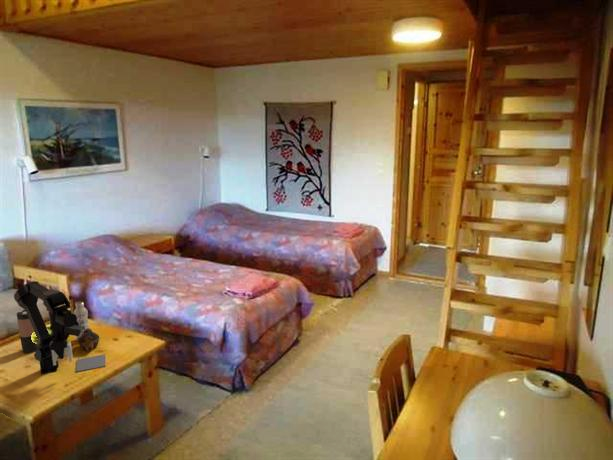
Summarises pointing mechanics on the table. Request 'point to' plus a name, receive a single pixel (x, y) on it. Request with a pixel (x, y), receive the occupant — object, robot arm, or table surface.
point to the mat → (90, 363)
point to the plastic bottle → (81, 316)
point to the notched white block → (66, 352)
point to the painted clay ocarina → (88, 339)
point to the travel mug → (25, 332)
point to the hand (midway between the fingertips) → (62, 355)
